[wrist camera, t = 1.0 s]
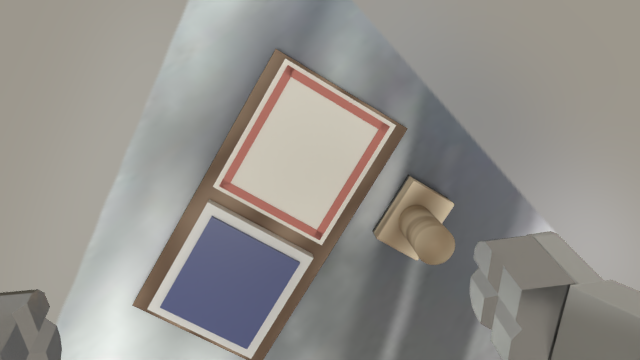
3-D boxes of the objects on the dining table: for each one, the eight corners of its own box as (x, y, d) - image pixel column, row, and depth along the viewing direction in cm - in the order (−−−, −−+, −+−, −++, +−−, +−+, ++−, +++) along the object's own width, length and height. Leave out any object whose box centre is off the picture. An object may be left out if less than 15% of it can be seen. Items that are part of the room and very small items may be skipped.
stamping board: (405, 127, 52) (407, 128, 51) (259, 360, 57) (259, 365, 56) (275, 48, 50) (275, 48, 49) (134, 300, 55) (132, 305, 54)
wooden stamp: (447, 197, 55) (480, 226, 45) (411, 252, 56) (437, 291, 47) (408, 174, 54) (434, 199, 45) (372, 230, 55) (390, 265, 46)
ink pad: (312, 253, 54) (313, 259, 52) (251, 352, 56) (250, 361, 54) (209, 198, 52) (207, 203, 50) (149, 303, 54) (146, 311, 52)
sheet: (395, 125, 51) (396, 125, 51) (321, 244, 54) (321, 245, 53) (285, 58, 49) (285, 58, 49) (212, 186, 51) (212, 187, 51)
